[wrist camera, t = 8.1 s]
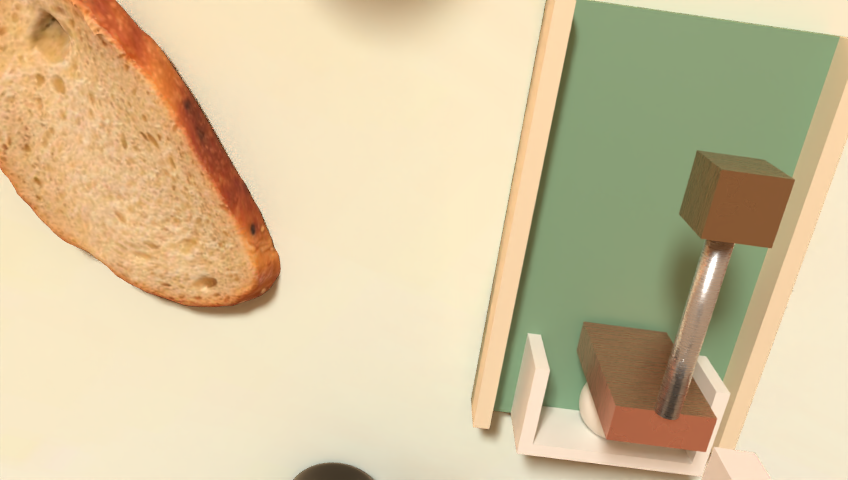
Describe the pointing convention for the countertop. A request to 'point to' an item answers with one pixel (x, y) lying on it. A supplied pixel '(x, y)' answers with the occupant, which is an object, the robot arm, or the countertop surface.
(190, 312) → the countertop surface
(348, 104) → the countertop surface
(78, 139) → the slice of bread
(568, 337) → the pitch
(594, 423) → the ball
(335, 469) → the supplement bottle
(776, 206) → the rod
